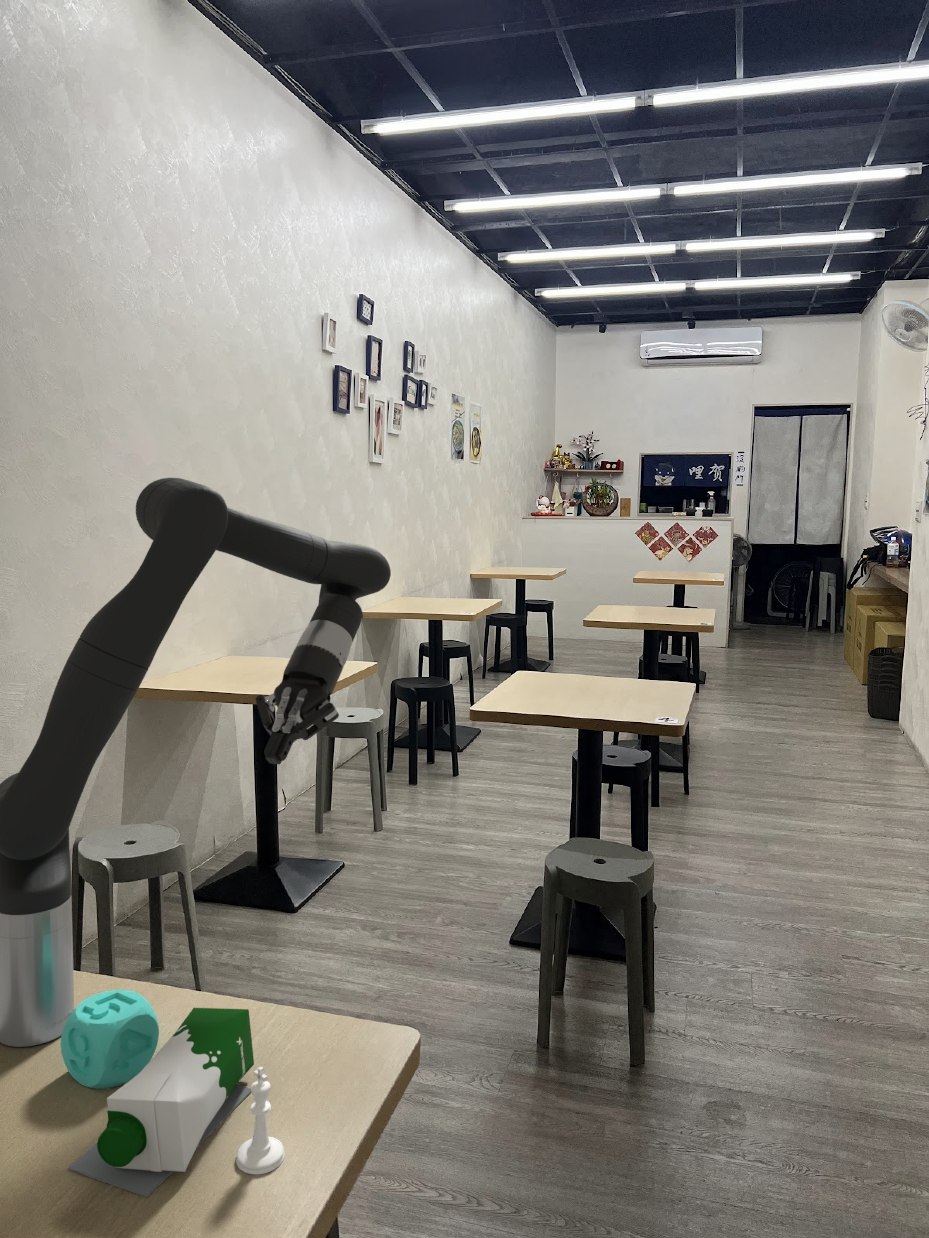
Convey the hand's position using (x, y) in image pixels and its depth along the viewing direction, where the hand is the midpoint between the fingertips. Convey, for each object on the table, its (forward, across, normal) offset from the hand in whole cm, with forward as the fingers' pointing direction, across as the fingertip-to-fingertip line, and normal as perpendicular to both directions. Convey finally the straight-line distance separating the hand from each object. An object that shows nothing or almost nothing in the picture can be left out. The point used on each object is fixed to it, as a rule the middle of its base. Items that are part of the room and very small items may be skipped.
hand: (272, 760), depth 121 cm
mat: (+43, +4, +5) cm, 43 cm away
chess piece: (+43, +16, +5) cm, 46 cm away
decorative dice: (+39, -9, +9) cm, 41 cm away
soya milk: (+32, +4, +10) cm, 34 cm away
